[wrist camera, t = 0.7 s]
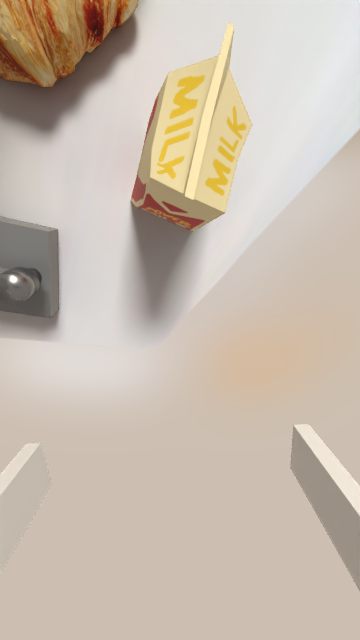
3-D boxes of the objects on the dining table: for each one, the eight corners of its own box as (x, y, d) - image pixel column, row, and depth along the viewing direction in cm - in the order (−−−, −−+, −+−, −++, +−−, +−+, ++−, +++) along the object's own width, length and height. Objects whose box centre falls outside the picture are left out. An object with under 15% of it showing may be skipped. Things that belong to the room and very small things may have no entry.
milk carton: (192, 230, 31) (244, 262, 13) (129, 203, 29) (90, 198, 11) (220, 158, 27) (342, 71, 10) (151, 120, 25) (144, -87, 7)
